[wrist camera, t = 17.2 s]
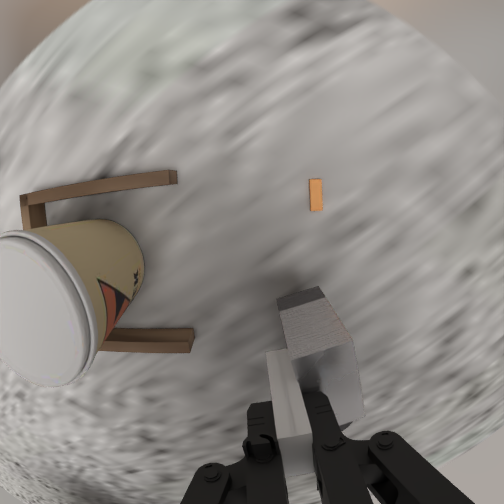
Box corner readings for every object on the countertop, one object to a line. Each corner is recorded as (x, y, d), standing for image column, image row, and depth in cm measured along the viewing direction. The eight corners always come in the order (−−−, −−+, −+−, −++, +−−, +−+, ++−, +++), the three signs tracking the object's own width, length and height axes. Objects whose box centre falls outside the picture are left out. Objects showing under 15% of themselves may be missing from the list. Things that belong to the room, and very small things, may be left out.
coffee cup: (119, 333, 26) (57, 416, 14) (47, 267, 24) (-40, 315, 13) (176, 258, 24) (119, 323, 13) (93, 186, 23) (-6, 196, 11)
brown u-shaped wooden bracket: (194, 338, 26) (189, 352, 24) (62, 335, 26) (50, 346, 24) (176, 171, 23) (168, 169, 20) (35, 193, 23) (19, 195, 20)
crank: (351, 411, 22) (377, 476, 15) (309, 425, 22) (324, 493, 15) (324, 284, 19) (361, 337, 12) (270, 300, 20) (281, 363, 13)
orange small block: (321, 210, 24) (322, 210, 23) (310, 210, 24) (311, 210, 23) (320, 179, 23) (321, 179, 23) (309, 179, 23) (309, 179, 23)
